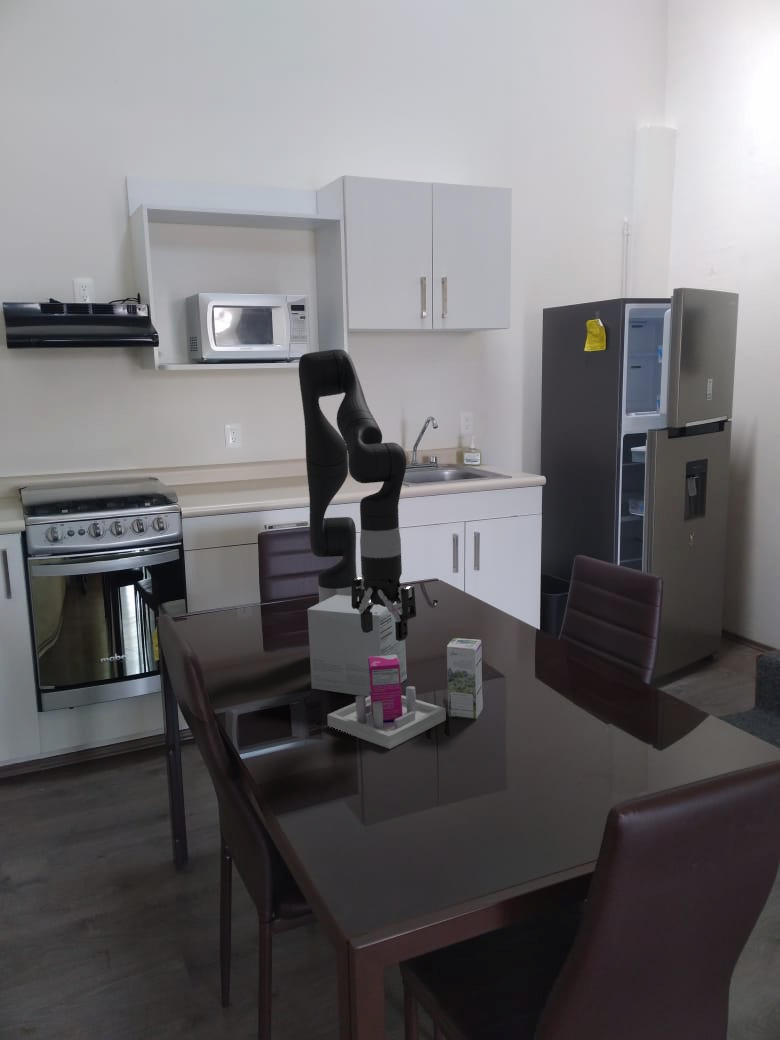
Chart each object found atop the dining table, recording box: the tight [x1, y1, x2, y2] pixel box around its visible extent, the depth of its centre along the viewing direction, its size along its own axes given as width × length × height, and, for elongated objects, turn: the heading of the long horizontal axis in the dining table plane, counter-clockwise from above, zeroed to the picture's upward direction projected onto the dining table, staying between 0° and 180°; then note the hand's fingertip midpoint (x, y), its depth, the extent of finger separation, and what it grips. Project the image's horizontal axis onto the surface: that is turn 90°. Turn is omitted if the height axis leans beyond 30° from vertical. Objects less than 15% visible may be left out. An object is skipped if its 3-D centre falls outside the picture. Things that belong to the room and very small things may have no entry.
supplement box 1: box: [306, 595, 408, 698], centre depth 180 cm, size 17×13×18 cm
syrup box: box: [446, 637, 484, 720], centre depth 162 cm, size 6×6×14 cm
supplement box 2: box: [368, 655, 403, 723], centre depth 159 cm, size 6×6×12 cm
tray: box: [326, 685, 447, 749], centre depth 159 cm, size 16×16×6 cm
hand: (384, 635), depth 157 cm, fingers open, 8 cm apart
